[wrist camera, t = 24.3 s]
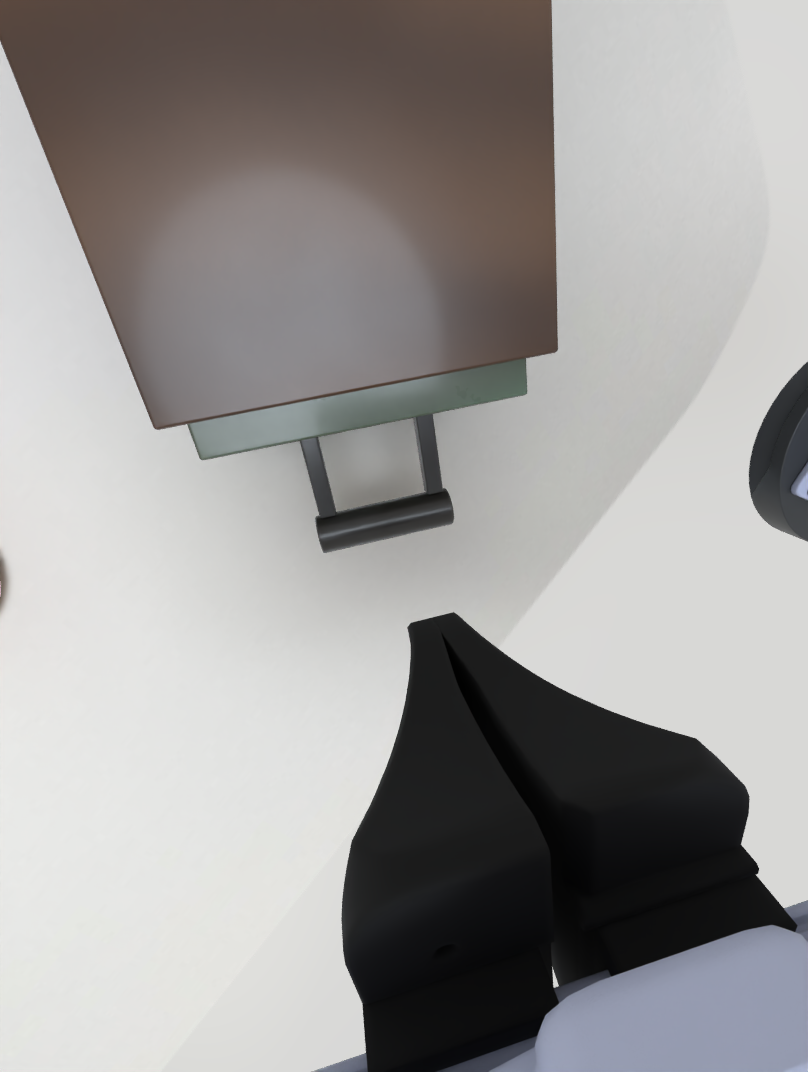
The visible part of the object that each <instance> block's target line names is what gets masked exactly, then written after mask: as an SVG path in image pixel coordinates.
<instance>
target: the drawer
mask: <svg viewBox="0 0 808 1072" xmlns="http://www.w3.org/2000/svg"><path fill="white" fill-rule="evenodd" d="M526 394H527V377H526V358H525V359H520V360H515V361H510V362H504V363H499V364H494V365H489V366H484V367H479V368H474V369H468V370H463V371H458V372H453V373H448V374H443V375H438V376H432V377H427V378H422V379H417V380H412V381H407V382H402V383H396V384H391V385H386V386H381V387H376V388H371V389H366V390H360V391H355V392H350V393H345V394H340V395H335V396H330V397H324V398H319V399H314V400H309V401H304V402H299V403H294V404H288V405H283V406H278V407H273V408H268V409H263V410H258V411H252V412H247V413H242V414H237V415H232V416H227V417H221V418H216V419H211V420H206V421H201V422H196V423H191V424H187V425H188V428H189V430H190V433H191V436H192V439H193V441H194V444H195V447H196V449H197V452H198V455H199V458H200V459H201V460H207V459H212V458H217V457H222V456H227V455H232V454H237V453H242V452H247V451H252V450H257V449H262V448H267V447H271V446H276V445H281V444H286V443H291V442H296V441H300V443H301V447H302V451H303V455H304V459H305V462H306V466H307V470H308V474H309V478H310V481H311V485H312V489H313V493H314V496H315V500H316V504H317V508H318V512H319V515H320V516H316V518H315V522H316V528H317V533H318V537H319V541H320V545H321V548H322V550H323V552H324V553H327V552H332V551H336V550H340V549H345V548H349V547H354V546H358V545H362V544H367V543H371V542H375V541H380V540H384V539H388V538H393V537H397V536H401V535H406V534H410V533H414V532H419V531H423V530H428V529H432V528H436V527H441V526H445V525H449V524H452V523H453V521H454V512H453V506H452V502H451V498H450V496H449V493H448V491H447V490H446V489H445V488H442V481H441V473H440V466H439V458H438V451H437V444H436V436H435V429H434V421H433V414H434V413H439V412H444V411H449V410H454V409H459V408H464V407H468V406H473V405H478V404H483V403H488V402H493V401H498V400H503V399H508V398H513V397H518V396H523V395H526ZM409 418H413V419H414V426H415V432H416V439H417V446H418V452H419V459H420V465H421V472H422V478H423V485H424V490H425V492H424V493H420V494H415V495H411V496H406V497H402V498H397V499H393V500H388V501H383V502H379V503H374V504H370V505H365V506H361V507H356V508H352V509H347V510H343V511H338V512H336V508H335V504H334V500H333V496H332V492H331V488H330V484H329V480H328V476H327V472H326V467H325V463H324V459H323V455H322V451H321V447H320V443H319V439H318V437H321V436H326V435H331V434H335V433H340V432H345V431H350V430H355V429H360V428H365V427H370V426H375V425H380V424H385V423H390V422H395V421H400V420H404V419H409Z"/></svg>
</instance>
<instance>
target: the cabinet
mask: <svg viewBox="0 0 808 1072" xmlns="http://www.w3.org/2000/svg"><path fill="white" fill-rule="evenodd" d="M0 42H1V44H2V47H3V49H4V52H5V54H6V57H7V59H8V62H9V64H10V67H11V69H12V72H13V74H14V77H15V79H16V82H17V84H18V87H19V89H20V92H21V94H22V97H23V99H24V102H25V105H26V107H27V110H28V112H29V115H30V117H31V120H32V122H33V125H34V127H35V130H36V132H37V135H38V137H39V140H40V142H41V145H42V147H43V150H44V152H45V155H46V157H47V160H48V162H49V165H50V167H51V170H52V173H53V175H54V178H55V180H56V183H57V185H58V188H59V190H60V193H61V195H62V198H63V200H64V203H65V205H66V208H67V210H68V213H69V215H70V218H71V220H72V223H73V225H74V228H75V230H76V233H77V236H78V238H79V241H80V243H81V246H82V248H83V251H84V253H85V256H86V258H87V261H88V263H89V266H90V268H91V271H92V273H93V276H94V278H95V281H96V283H97V286H98V288H99V291H100V293H101V296H102V298H103V301H104V304H105V306H106V309H107V311H108V314H109V316H110V319H111V321H112V324H113V326H114V329H115V331H116V334H117V336H118V339H119V341H120V344H121V346H122V349H123V351H124V354H125V356H126V359H127V361H128V364H129V367H130V369H131V372H132V374H133V377H134V379H135V382H136V384H137V387H138V389H139V392H140V394H141V397H142V399H143V402H144V404H145V407H146V409H147V412H148V414H149V417H150V419H151V422H152V424H153V427H154V428H155V429H157V430H160V429H165V428H170V427H175V426H180V425H185V424H191V423H196V422H201V421H206V420H211V419H216V418H221V417H227V416H232V415H237V414H242V413H247V412H252V411H258V410H263V409H268V408H273V407H278V406H283V405H288V404H294V403H299V402H304V401H309V400H314V399H319V398H324V397H330V396H335V395H340V394H345V393H350V392H355V391H360V390H366V389H371V388H376V387H381V386H386V385H391V384H396V383H402V382H407V381H412V380H417V379H422V378H427V377H432V376H438V375H443V374H448V373H453V372H458V371H463V370H468V369H474V368H479V367H484V366H489V365H494V364H499V363H504V362H510V361H515V360H520V359H525V358H530V357H535V356H540V355H546V354H551V353H555V352H556V351H557V350H558V337H557V282H556V227H555V172H554V117H553V62H552V7H551V0H0Z"/></svg>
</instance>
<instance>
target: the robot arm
mask: <svg viewBox="0 0 808 1072" xmlns="http://www.w3.org/2000/svg"><path fill="white" fill-rule="evenodd" d="M791 492H792V494H794V495H796V496H798V497H801V498H803V499H805V500H808V462H807V463H806V465H805V466H804V468H803V469H802V471H801V472H800V474H799V475H798V477H797V478H796V480H795V481H794V483H793V484H792V486H791ZM408 632H409V637H410V642H411V661H410V675H409V682H408V688H407V695H406V701H405V706H404V710H403V715H402V719H401V723H400V727H399V730H398V734H397V737H396V740H395V743H394V747H393V750H392V753H391V756H390V759H389V761H388V764H387V767H386V769H385V772H384V774H383V777H382V779H381V781H380V784H379V786H378V789H377V791H376V793H375V796H374V798H373V800H372V802H371V805H370V807H369V809H368V810H367V812H366V814H365V816H364V818H363V820H362V822H361V824H360V826H359V828H358V830H357V832H356V834H355V836H354V838H353V840H352V843H351V848H350V853H349V858H348V864H347V870H346V876H345V882H344V891H343V901H342V934H343V935H342V936H343V952H344V958H345V964H346V966H347V969H348V971H349V973H350V976H351V978H352V980H353V983H354V985H355V987H356V989H357V992H358V994H359V996H360V999H361V1001H362V1003H363V1017H364V1029H365V1043H366V1053H365V1054H362V1055H359V1056H356V1057H353V1058H350V1059H347V1060H344V1061H342V1062H339V1063H336V1064H333V1065H330V1066H327V1067H324V1068H321V1069H318V1070H316V1071H313V1072H808V900H807V901H804V902H801V903H798V904H796V905H793V906H790V907H787V908H783V907H782V906H781V905H780V904H779V902H778V901H777V900H776V899H775V898H774V896H773V895H772V894H771V893H770V891H769V890H768V889H767V888H766V887H765V885H764V884H763V883H762V882H761V881H760V880H759V878H758V877H757V876H756V875H755V874H758V871H759V868H758V865H757V863H756V862H755V861H754V860H753V858H752V857H751V856H750V855H749V854H748V853H747V852H746V850H745V849H744V848H743V847H742V845H741V842H742V837H743V833H744V829H745V826H746V821H747V817H748V813H749V794H748V792H747V789H746V787H745V786H744V784H743V783H742V782H740V780H738V778H737V777H736V776H735V775H734V774H733V773H732V772H731V771H730V770H729V769H728V768H727V767H726V766H725V765H724V764H723V763H722V762H721V761H720V760H719V759H718V758H717V757H716V756H715V755H714V754H713V753H712V752H711V751H709V750H708V749H707V748H706V747H705V746H704V745H702V744H701V743H700V742H699V741H698V740H697V739H695V738H692V737H689V736H685V735H682V734H678V733H675V732H671V731H668V730H665V729H661V728H658V727H654V726H651V725H648V724H645V723H642V722H639V721H636V720H633V719H630V718H628V717H625V716H622V715H619V714H617V713H614V712H611V711H609V710H606V709H604V708H601V707H599V706H597V705H594V704H592V703H590V702H588V701H585V700H583V699H581V698H579V697H577V696H574V695H572V694H570V693H568V692H566V691H564V690H562V689H560V688H558V687H556V686H555V685H553V684H551V683H549V682H547V681H546V680H544V679H542V678H540V677H539V676H537V675H535V674H534V673H532V672H531V671H529V670H528V669H526V668H524V667H523V666H522V665H520V664H519V663H517V662H516V661H514V660H513V659H511V658H510V657H508V656H507V655H506V654H504V653H503V652H502V651H500V650H499V649H498V648H496V647H495V646H494V645H492V644H491V643H490V642H489V641H487V640H486V639H485V638H484V637H482V636H481V635H480V634H479V633H478V632H476V631H475V630H474V629H473V628H472V627H471V626H469V625H468V624H467V623H466V622H465V621H464V620H463V619H462V618H461V617H460V616H458V615H457V614H456V613H454V612H453V613H449V614H445V615H441V616H437V617H433V618H429V619H425V620H421V621H417V622H413V623H411V624H410V625H409V626H408ZM552 967H553V970H554V973H555V975H556V978H557V981H558V984H559V986H558V987H556V988H554V987H553V974H552Z"/></svg>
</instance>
